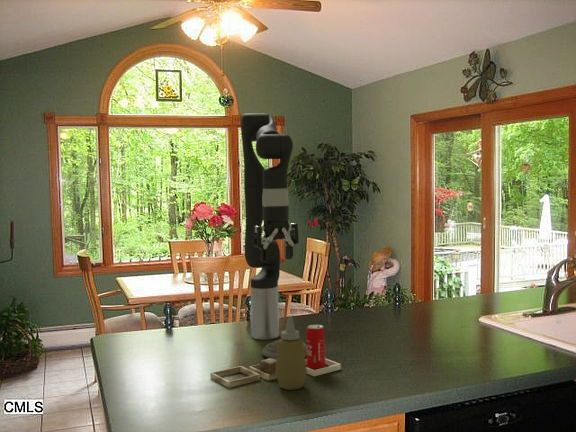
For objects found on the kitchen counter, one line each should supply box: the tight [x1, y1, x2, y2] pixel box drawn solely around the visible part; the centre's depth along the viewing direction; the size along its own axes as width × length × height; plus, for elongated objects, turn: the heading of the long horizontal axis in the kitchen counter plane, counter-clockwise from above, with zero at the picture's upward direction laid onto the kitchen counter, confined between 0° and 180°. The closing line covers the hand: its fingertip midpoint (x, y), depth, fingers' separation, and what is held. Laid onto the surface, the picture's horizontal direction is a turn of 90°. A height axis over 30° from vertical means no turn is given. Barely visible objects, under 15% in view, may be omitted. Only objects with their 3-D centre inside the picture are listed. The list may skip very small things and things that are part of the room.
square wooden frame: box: [248, 363, 278, 382], centre depth 167 cm, size 10×10×2 cm
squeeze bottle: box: [276, 316, 307, 391], centre depth 155 cm, size 8×8×18 cm
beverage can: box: [305, 324, 326, 370], centre depth 169 cm, size 5×5×12 cm
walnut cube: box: [259, 357, 277, 374], centre depth 165 cm, size 4×4×4 cm
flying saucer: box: [261, 338, 307, 359], centre depth 183 cm, size 15×15×6 cm
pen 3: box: [305, 357, 342, 377], centre depth 169 cm, size 10×10×2 cm
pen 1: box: [210, 365, 261, 389], centre depth 162 cm, size 10×10×2 cm
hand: (276, 260), depth 173 cm, fingers open, 8 cm apart
